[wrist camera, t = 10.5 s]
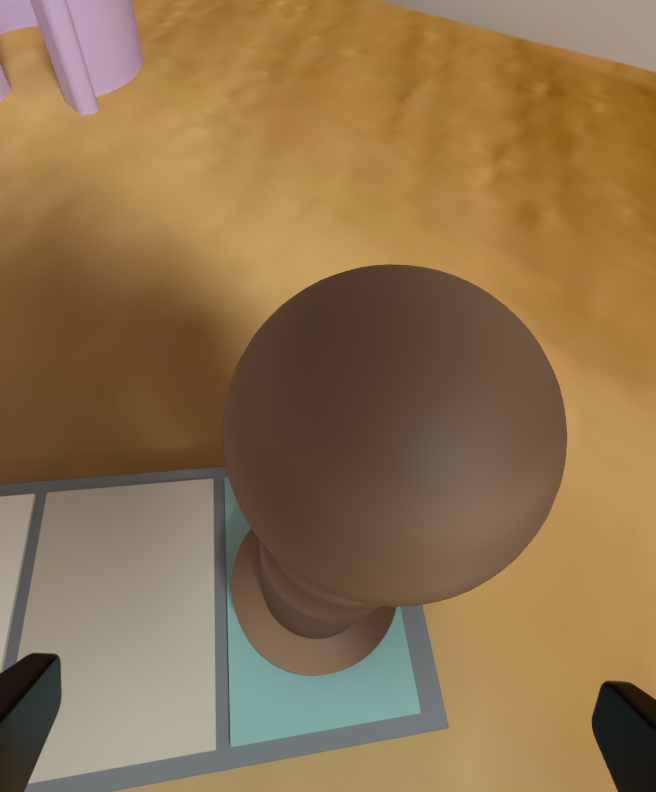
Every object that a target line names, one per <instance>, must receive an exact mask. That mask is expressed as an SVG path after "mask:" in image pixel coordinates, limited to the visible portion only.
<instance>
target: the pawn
mask: <svg viewBox="0 0 656 792" xmlns="http://www.w3.org/2000/svg"><path fill="white" fill-rule="evenodd" d="M566 446H567V426H566V417H565V410H564V404H563V399H562V395H561V391H560V387H559V384H558V381H557V379H556V376H555V374H554V371H553V369H552V367H551V365H550V363H549V361H548V359H547V357H546V355H545V353H544V351H543V350H542V348H541V346H540V344H539V343H538V341H537V340H536V339H535V337H534V336H533V334H532V333H531V332H530V330H529V329H528V328H527V327H526V326H525V325H524V324H523V322H522V321H521V320H520V319H519V318H518V317H517V316H516V315H515V314H514V313H513V312H511V311H510V310H509V309H508V308H507V307H506V306H505V305H504V304H502V303H501V302H500V301H498V300H497V299H496V298H495V297H493V296H492V295H490V294H489V293H487V292H486V291H484V290H483V289H481V288H479V287H478V286H476V285H474V284H472V283H470V282H468V281H466V280H463V279H461V278H459V277H456V276H454V275H451V274H448V273H445V272H442V271H438V270H434V269H429V268H425V267H417V266H409V265H374V266H367V267H361V268H357V269H353V270H349V271H345V272H342V273H339V274H336V275H333V276H330V277H328V278H325V279H323V280H320V281H318V282H317V283H315V284H313V285H311V286H309V287H307V288H306V289H304V290H303V291H301V292H299V293H298V294H296V295H295V296H294V297H292V298H291V299H289V300H288V301H287V302H285V303H284V304H283V305H282V306H281V307H280V308H279V309H277V310H276V311H275V312H274V313H273V314H272V315H271V316H270V317H269V318H268V320H267V321H266V322H265V323H264V324H263V325H262V326H261V328H260V329H259V330H258V331H257V333H256V334H255V335H254V336H253V338H252V339H251V341H250V343H249V345H248V346H247V348H246V350H245V352H244V353H243V355H242V357H241V359H240V361H239V363H238V364H237V367H236V370H235V372H234V375H233V377H232V380H231V383H230V387H229V391H228V395H227V400H226V405H225V409H224V420H223V447H224V458H225V465H226V469H227V473H228V477H229V481H230V485H231V487H232V490H233V492H234V495H235V497H236V500H237V502H238V505H239V507H240V510H241V512H242V514H243V515H244V517H245V519H246V520H247V522H248V524H249V526H250V527H251V529H250V530H249V532H248V533H247V534H246V536H245V538H244V540H243V541H242V543H241V545H240V548H239V550H238V552H237V555H236V558H235V562H234V566H233V572H232V586H231V589H232V600H233V604H234V609H235V613H236V616H237V618H238V621H239V624H240V626H241V628H242V630H243V632H244V634H245V636H246V638H247V639H248V641H249V642H250V644H251V645H252V646H253V648H254V649H255V650H256V651H257V652H258V653H259V654H260V655H261V656H262V657H263V658H265V659H266V660H267V661H268V662H270V663H271V664H273V665H275V666H276V667H278V668H280V669H282V670H285V671H287V672H290V673H294V674H298V675H305V676H319V675H327V674H332V673H336V672H340V671H343V670H345V669H347V668H350V667H352V666H354V665H355V664H357V663H359V662H360V661H362V660H363V659H364V658H366V657H367V656H368V655H369V654H371V653H372V651H373V650H374V649H375V648H376V647H377V646H378V645H379V644H380V642H381V641H382V639H383V638H384V637H385V635H386V633H387V631H388V630H389V628H390V626H391V624H392V621H393V618H394V615H395V612H396V608H397V607H403V606H419V605H423V604H428V603H433V602H437V601H442V600H446V599H450V598H452V597H455V596H457V595H460V594H463V593H465V592H468V591H470V590H472V589H474V588H476V587H477V586H479V585H481V584H483V583H484V582H486V581H488V580H489V579H491V578H492V577H494V576H495V575H497V574H498V573H500V572H501V571H502V570H503V569H504V568H506V567H507V566H508V565H509V564H510V563H512V562H513V561H514V560H515V559H516V558H517V557H518V556H519V555H520V554H521V553H522V551H523V550H524V549H525V548H526V547H527V546H528V544H529V543H530V542H531V541H532V539H533V538H534V537H535V536H536V534H537V533H538V532H539V530H540V528H541V527H542V525H543V523H544V522H545V520H546V518H547V517H548V515H549V512H550V510H551V507H552V505H553V502H554V500H555V497H556V495H557V492H558V490H559V487H560V484H561V480H562V476H563V471H564V466H565V458H566Z"/></svg>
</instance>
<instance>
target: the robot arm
mask: <svg viewBox="0 0 656 792" xmlns="http://www.w3.org/2000/svg"><path fill="white" fill-rule="evenodd" d="M61 698H62V686H61V660H60V657H59V656H58V655H57V654H54V653H31V654H29V655H27V656H25V657H24V658H22V659H21V660H19V661H18V662H16V663H15V664H13V665H12V666H10V667H9V668H7V669H6V670H4V671H3V672H1V673H0V792H24V791H25V789H26V787H27V784H28V782H29V780H30V777H31V775H32V773H33V770H34V768H35V766H36V763H37V761H38V759H39V756H40V754H41V752H42V749H43V747H44V745H45V742H46V740H47V738H48V735H49V733H50V731H51V728H52V726H53V724H54V721H55V719H56V717H57V714H58V711H59V708H60V704H61ZM592 729H593V733H594V736H595V739H596V741H597V744H598V746H599V748H600V751H601V753H602V755H603V758H604V760H605V762H606V765H607V767H608V769H609V772H610V774H611V776H612V779H613V781H614V783H615V786H616V788H617V790H618V792H656V700H655V699H654V698H653V697H651V696H650V695H648V694H647V693H645V692H644V691H642V690H641V689H639V688H638V687H636V686H635V685H633V684H632V683H629V682H625V681H605V682H604V683H603V684H602V685H601V688H600V691H599V695H598V698H597V702H596V705H595V709H594V712H593V716H592Z"/></svg>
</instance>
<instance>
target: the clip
mask: <svg viewBox="0 0 656 792" xmlns="http://www.w3.org/2000/svg"><path fill="white" fill-rule="evenodd" d="M34 26H39V28H40V31H41V33H42V36H43V39H44V42H45V45H46V48H47V50H48V53H49V56H50V59H51V62H52V65H53V67H54V70H55V73H56V76H57V79H58V82H59V84H60V87H61V90H62V93H63V96H64V99H65V101H66V103H67V104H68V105H69V106H71V107H72V108H73V109H74V110H75V111H76V112H77V113H79V114H81V115H90V114H94V113H96V112H98V111H99V107H98V104H97V100H96V97H97V96H100V95H103V94H106V93H109V92H111V91H114V90H116V89H118V88H120V87H122V86H123V85H125V84H127V83H128V82H129V81H131V80H132V79H133V78H134V77H135V76H136V75H137V74H138V72H139V71H140V69H141V67H142V64H143V55H142V50H141V45H140V40H139V35H138V30H137V25H136V20H135V15H134V10H133V5H132V0H0V34H2V33H5V32H8V31H12V30H16V29H21V28H26V27H34ZM11 91H12V89H11V87H10V85H9V83H8V80H7V78H6V76H5V73H4V71H3V69H2V67H1V64H0V100H2V99H4V98H5V97H6V96H7V95H9V94H10V93H11Z"/></svg>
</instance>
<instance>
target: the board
mask: <svg viewBox="0 0 656 792" xmlns="http://www.w3.org/2000/svg"><path fill="white" fill-rule="evenodd" d="M250 529H251V527H250V526H249V524H248V522H247V520H246V519H245V517H244V515H243V514H242V512H241V510H240V507H239V505H238V502H237V500H236V497H235V495H234V492H233V490H232V487H231V485H230V481H229V477H228V473H227V469H226V466H223V467H211V468H198V469H186V470H174V471H162V472H149V473H137V474H125V475H112V476H100V477H88V478H75V479H63V480H51V481H38V482H26V483H14V484H2V485H0V673H1V672H3V671H4V670H6V669H7V668H9V667H10V666H12V665H13V664H15V663H16V662H18V661H19V660H21V659H22V658H24V657H25V656H27V655H29V654H31V653H54V654H57V655H58V656H59V657H60V660H61V686H62V698H61V704H60V708H59V711H58V714H57V717H56V719H55V721H54V724H53V726H52V728H51V731H50V733H49V735H48V738H47V740H46V742H45V745H44V747H43V749H42V752H41V754H40V756H39V759H38V761H37V763H36V766H35V768H34V770H33V773H32V775H31V777H30V780H29V782H28V784H27V787H26V789H25V791H24V792H111V791H116V790H122V789H127V788H132V787H138V786H143V785H148V784H154V783H159V782H164V781H170V780H175V779H180V778H186V777H191V776H196V775H202V774H207V773H212V772H218V771H223V770H228V769H234V768H239V767H244V766H250V765H255V764H260V763H266V762H271V761H276V760H282V759H287V758H292V757H298V756H303V755H308V754H314V753H319V752H324V751H330V750H335V749H340V748H346V747H351V746H356V745H362V744H367V743H373V742H378V741H383V740H389V739H394V738H399V737H405V736H410V735H415V734H421V733H426V732H431V731H437V730H442V729H447V728H449V726H448V722H447V717H446V713H445V708H444V703H443V699H442V694H441V690H440V685H439V681H438V676H437V671H436V667H435V662H434V658H433V653H432V648H431V644H430V639H429V635H428V630H427V626H426V621H425V616H424V612H423V607H422V605H419V606H403V607H397V608H396V612H395V615H394V618H393V621H392V624H391V626H390V628H389V630H388V631H387V633H386V635H385V637H384V638H383V639H382V641H381V642H380V644H379V645H378V646H377V647H376V648H375V649H374V650H373V651H372V653H371V654H369V655H368V656H367V657H366V658H364V659H363V660H362V661H360V662H359V663H357V664H355V665H354V666H352V667H350V668H347V669H345V670H343V671H340V672H336V673H332V674H327V675H319V676H305V675H298V674H294V673H290V672H287V671H285V670H282V669H280V668H278V667H276V666H275V665H273V664H271V663H270V662H268V661H267V660H266V659H265V658H263V657H262V656H261V655H260V654H259V653H258V652H257V651H256V650H255V649H254V648H253V646H252V645H251V644H250V642H249V641H248V639H247V638H246V636H245V634H244V632H243V630H242V628H241V626H240V624H239V621H238V618H237V616H236V613H235V609H234V604H233V600H232V589H231V586H232V572H233V566H234V562H235V558H236V555H237V552H238V550H239V548H240V545H241V543H242V541H243V540H244V538H245V536H246V534H247V533H248V532H249V530H250Z"/></svg>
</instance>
